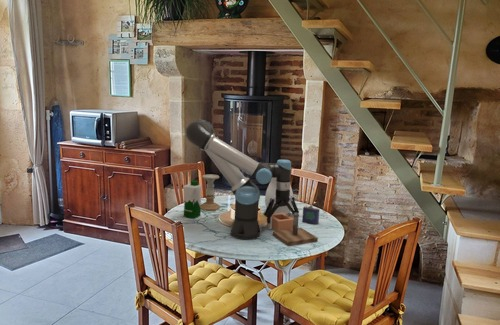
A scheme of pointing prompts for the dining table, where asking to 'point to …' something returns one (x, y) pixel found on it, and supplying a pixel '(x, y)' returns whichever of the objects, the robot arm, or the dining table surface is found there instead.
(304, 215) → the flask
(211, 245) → the dining table surface
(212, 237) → the dining table surface
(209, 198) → the candle holder
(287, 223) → the orange square ring
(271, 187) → the pitcher
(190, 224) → the dining table surface
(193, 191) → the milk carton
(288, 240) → the hook peg board
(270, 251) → the dining table surface
